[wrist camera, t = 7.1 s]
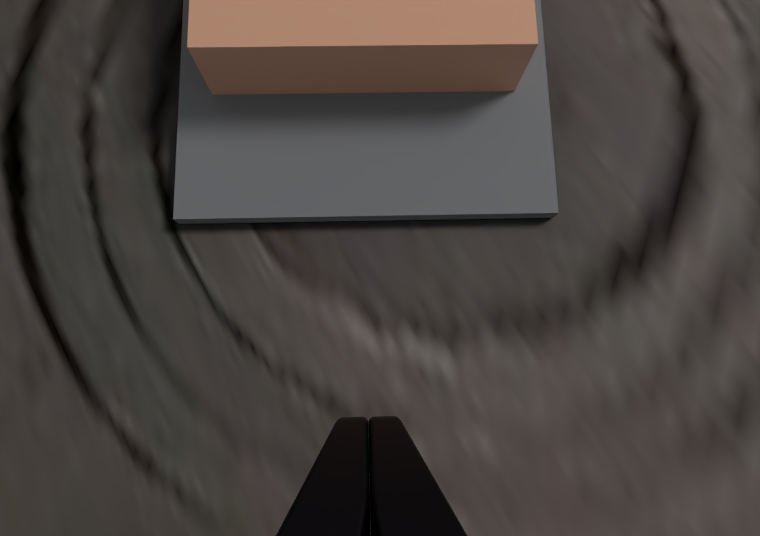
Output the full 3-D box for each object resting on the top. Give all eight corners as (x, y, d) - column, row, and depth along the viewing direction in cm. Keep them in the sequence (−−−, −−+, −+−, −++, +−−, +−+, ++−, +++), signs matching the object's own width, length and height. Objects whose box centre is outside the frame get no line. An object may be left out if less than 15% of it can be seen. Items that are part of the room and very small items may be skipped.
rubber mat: (553, 217, 18) (558, 212, 17) (178, 223, 17) (173, 219, 17) (520, -178, 20) (524, -192, 20) (196, -177, 20) (192, -191, 20)
